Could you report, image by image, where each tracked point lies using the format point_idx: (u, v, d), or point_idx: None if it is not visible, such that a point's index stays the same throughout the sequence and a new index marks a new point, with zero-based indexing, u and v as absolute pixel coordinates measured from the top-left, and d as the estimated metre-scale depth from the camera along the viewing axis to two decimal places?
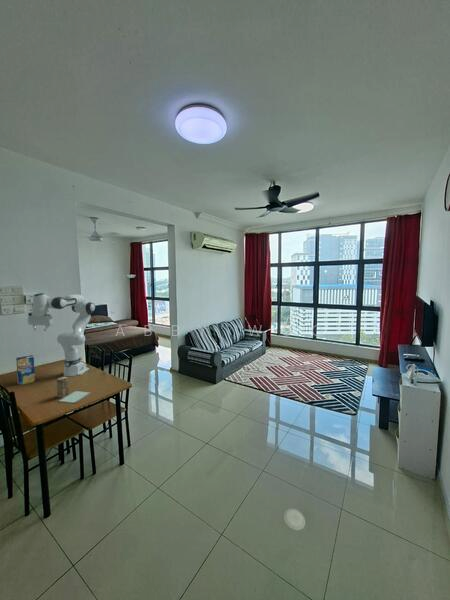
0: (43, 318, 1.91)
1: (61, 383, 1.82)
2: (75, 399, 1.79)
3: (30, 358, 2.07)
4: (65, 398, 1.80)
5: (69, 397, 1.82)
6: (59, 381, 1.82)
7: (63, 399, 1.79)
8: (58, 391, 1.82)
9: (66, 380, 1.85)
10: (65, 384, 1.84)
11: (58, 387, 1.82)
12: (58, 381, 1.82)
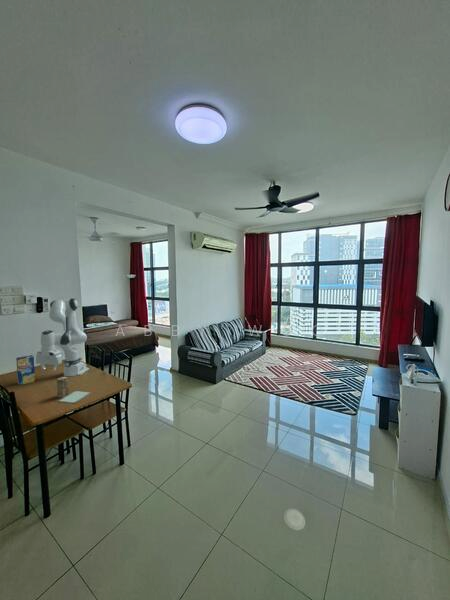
0: None
1: (61, 383, 1.82)
2: (75, 399, 1.79)
3: (30, 358, 2.07)
4: (65, 398, 1.80)
5: (69, 397, 1.82)
6: (59, 381, 1.82)
7: (63, 399, 1.79)
8: (58, 391, 1.82)
9: (66, 380, 1.85)
10: (65, 384, 1.84)
11: (58, 387, 1.82)
12: (58, 381, 1.82)
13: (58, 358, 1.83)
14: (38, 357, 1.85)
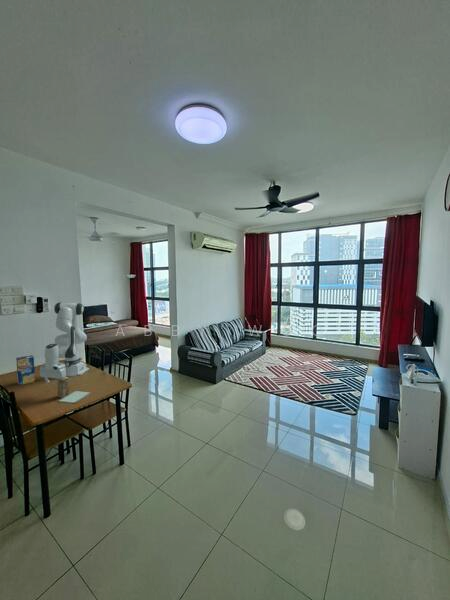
0: None
1: (62, 383, 1.82)
2: (75, 399, 1.79)
3: (30, 358, 2.07)
4: (65, 398, 1.80)
5: (69, 397, 1.82)
6: (60, 381, 1.82)
7: (63, 399, 1.79)
8: (59, 390, 1.82)
9: (67, 380, 1.85)
10: (66, 384, 1.84)
11: (59, 387, 1.82)
12: (59, 381, 1.82)
13: (62, 372, 1.82)
14: (42, 370, 1.84)
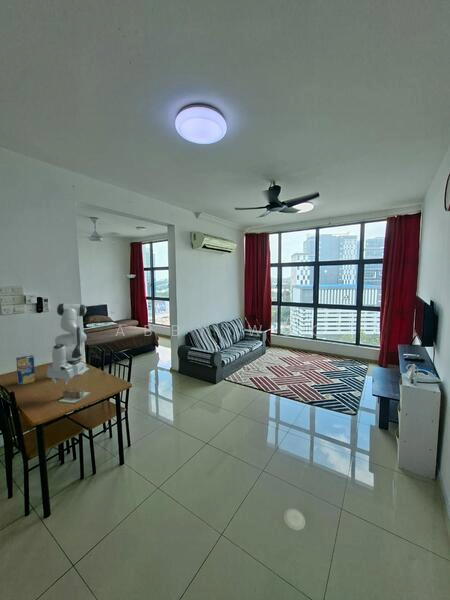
0: None
1: (76, 396, 1.80)
2: (75, 399, 1.79)
3: (30, 358, 2.07)
4: (65, 398, 1.80)
5: None
6: (77, 395, 1.80)
7: (63, 399, 1.79)
8: (68, 392, 1.81)
9: None
10: None
11: (72, 393, 1.81)
12: (77, 393, 1.80)
13: (69, 372, 1.81)
14: (49, 371, 1.83)
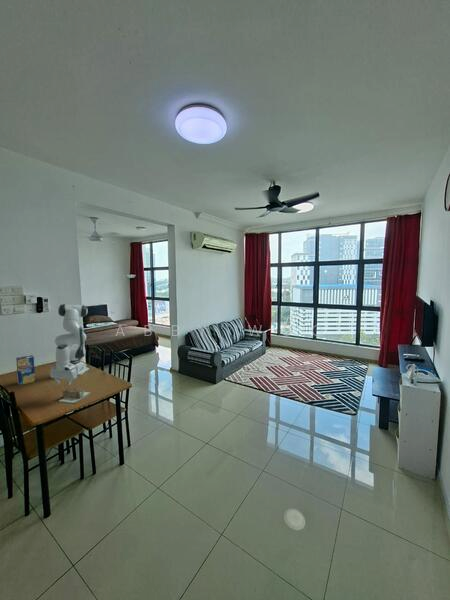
0: None
1: (76, 396, 1.80)
2: (75, 399, 1.79)
3: (30, 358, 2.07)
4: (65, 398, 1.80)
5: None
6: (77, 395, 1.80)
7: (63, 399, 1.79)
8: (68, 392, 1.81)
9: None
10: None
11: (72, 393, 1.81)
12: (77, 393, 1.80)
13: (73, 373, 1.81)
14: (53, 371, 1.83)
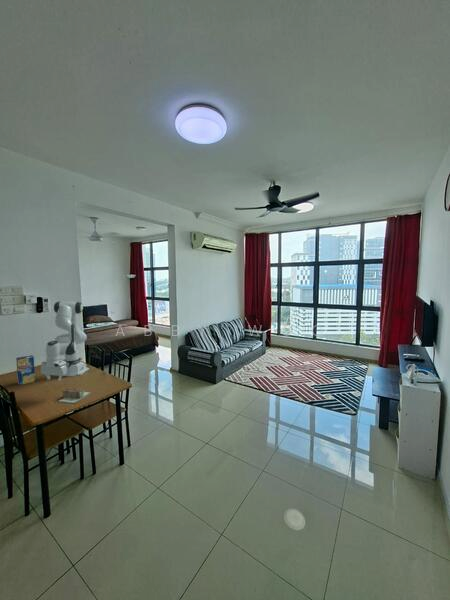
0: None
1: (76, 396, 1.80)
2: (75, 399, 1.79)
3: (30, 358, 2.07)
4: (65, 398, 1.80)
5: None
6: (77, 395, 1.80)
7: (63, 399, 1.79)
8: (68, 392, 1.81)
9: None
10: None
11: (72, 393, 1.81)
12: (77, 393, 1.80)
13: (63, 369, 1.82)
14: (43, 367, 1.84)
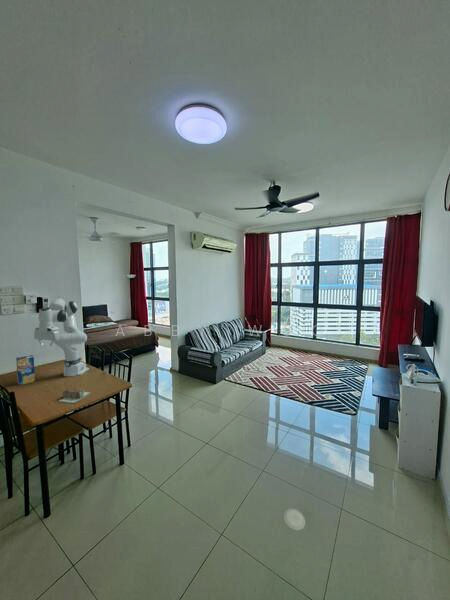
0: None
1: (76, 396, 1.80)
2: (75, 399, 1.79)
3: (30, 358, 2.07)
4: (65, 398, 1.80)
5: None
6: (77, 395, 1.80)
7: (63, 399, 1.79)
8: (68, 392, 1.81)
9: None
10: None
11: (72, 393, 1.81)
12: (77, 393, 1.80)
13: (55, 334, 1.90)
14: (36, 333, 1.92)
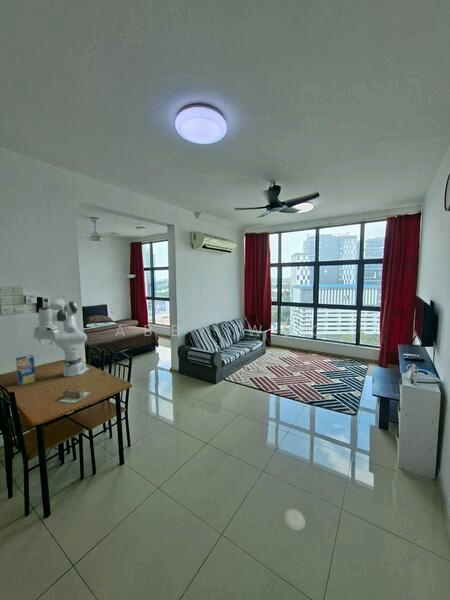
0: None
1: (76, 396, 1.80)
2: (75, 399, 1.79)
3: (30, 358, 2.07)
4: (65, 398, 1.80)
5: None
6: (77, 395, 1.80)
7: (63, 399, 1.79)
8: (68, 392, 1.81)
9: None
10: None
11: (72, 393, 1.81)
12: (77, 393, 1.80)
13: (55, 333, 1.90)
14: (36, 332, 1.92)
